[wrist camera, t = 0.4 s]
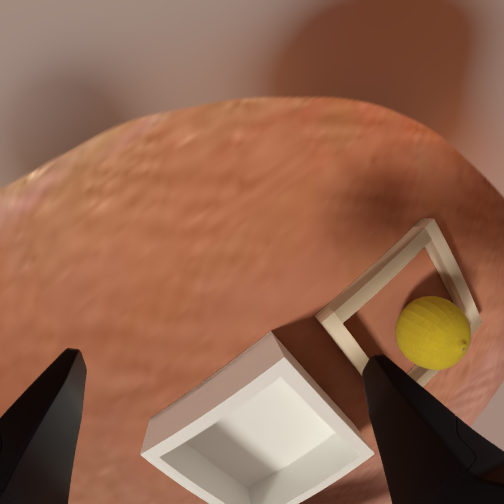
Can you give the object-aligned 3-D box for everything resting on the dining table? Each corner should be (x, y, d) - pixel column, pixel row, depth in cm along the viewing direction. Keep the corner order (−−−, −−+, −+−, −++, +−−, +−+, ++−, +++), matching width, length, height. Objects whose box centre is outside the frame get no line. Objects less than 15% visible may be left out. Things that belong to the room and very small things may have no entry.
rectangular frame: (471, 318, 27) (482, 322, 25) (383, 405, 27) (392, 414, 25) (421, 218, 25) (433, 218, 23) (314, 315, 25) (321, 322, 23)
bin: (353, 423, 26) (374, 453, 21) (245, 492, 26) (251, 527, 21) (270, 330, 24) (284, 356, 20) (149, 418, 24) (140, 454, 19)
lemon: (388, 358, 26) (438, 399, 18) (372, 306, 25) (427, 337, 17) (434, 328, 26) (491, 357, 18) (422, 276, 26) (484, 295, 18)
